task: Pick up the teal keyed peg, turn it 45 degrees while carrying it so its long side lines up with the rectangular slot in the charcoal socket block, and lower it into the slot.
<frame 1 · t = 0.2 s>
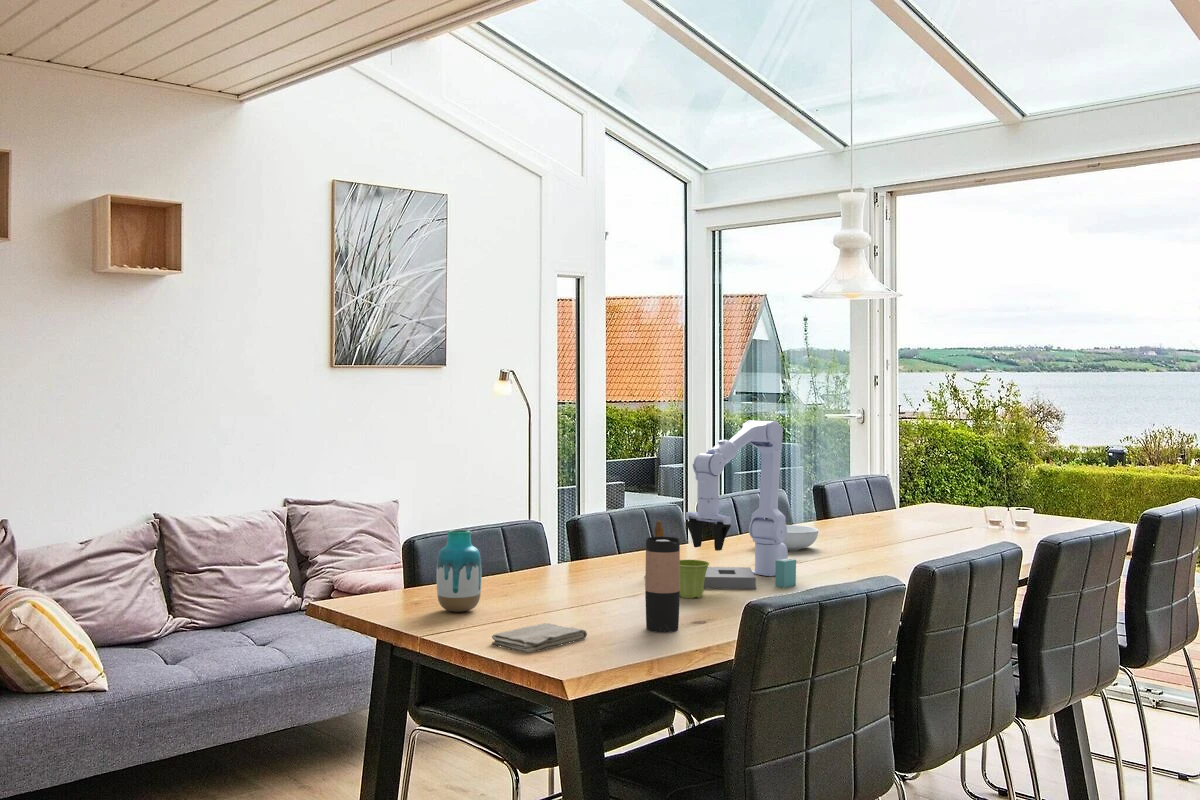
hand: (707, 548, 294), 10 cm above the table, tool pointing down, fingers open, 7 cm apart
washcloth: (538, 645, 230), on the table
travel mug: (662, 629, 242), on the table
vase: (458, 612, 260), on the table
serving bowl: (785, 549, 360), on the table
plant pot: (690, 597, 279), on the table
keyed socket: (726, 583, 298), on the table
keyed peg: (785, 585, 294), on the table
hand bell: (659, 578, 306), on the table
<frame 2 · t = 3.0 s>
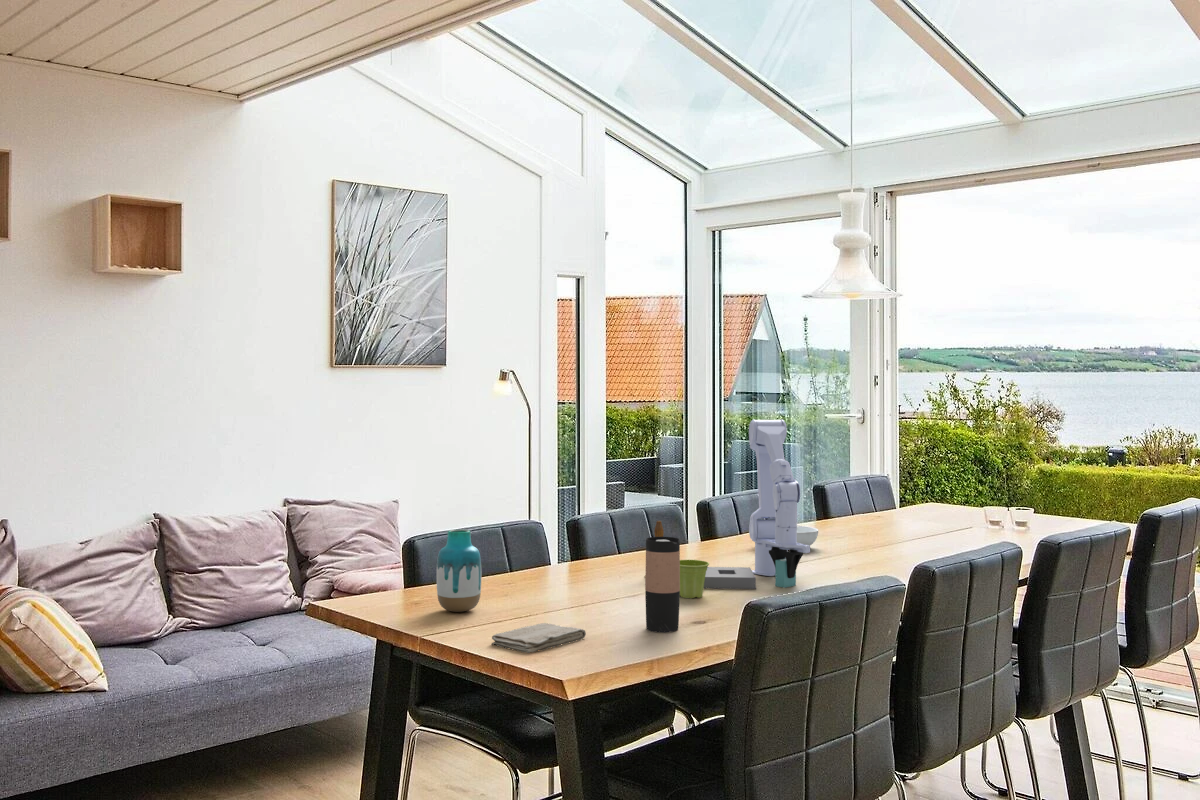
hand: (785, 576, 294), 2 cm above the table, tool pointing down, fingers closed on keyed peg, 3 cm apart
keyed peg: (785, 585, 294), on the table, touching gripper
everything else where it was.
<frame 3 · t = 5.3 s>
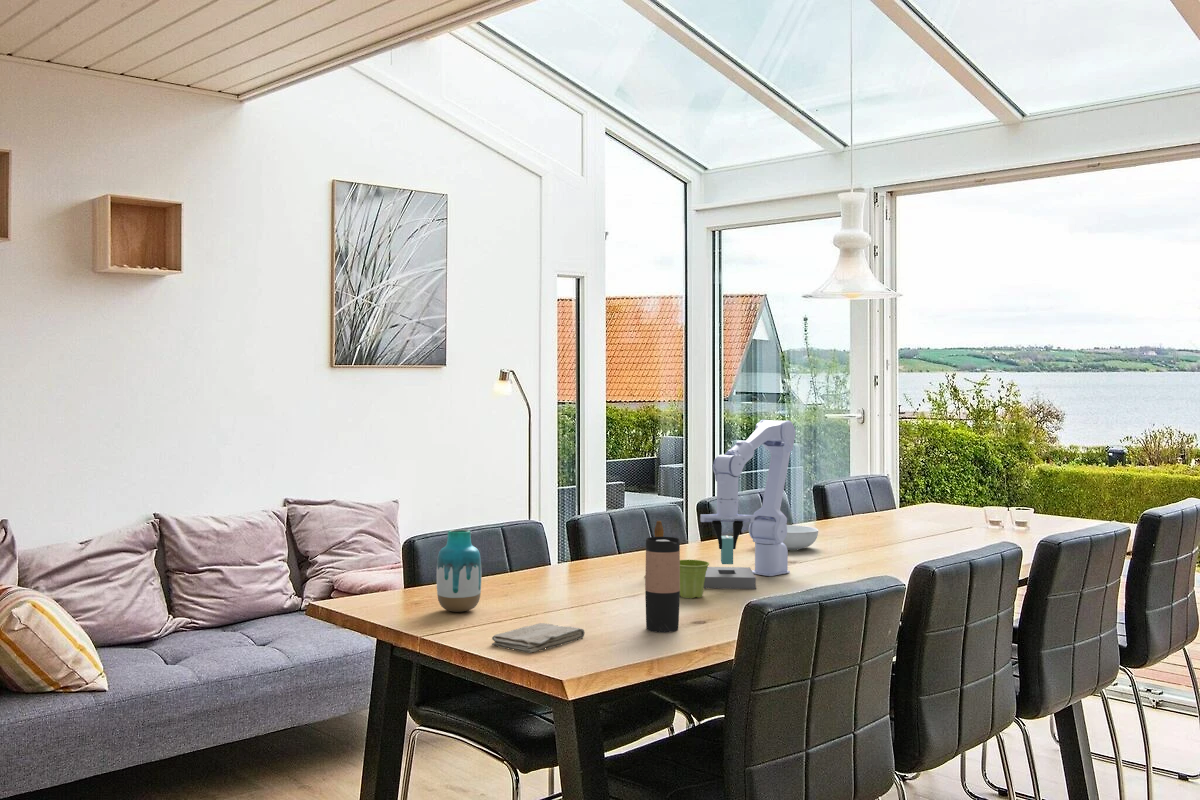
hand: (727, 548, 298), 9 cm above the table, tool pointing down, fingers closed on keyed peg, 3 cm apart
keyed peg: (726, 562, 298), point 5 cm above the table, touching gripper
everything else where it was.
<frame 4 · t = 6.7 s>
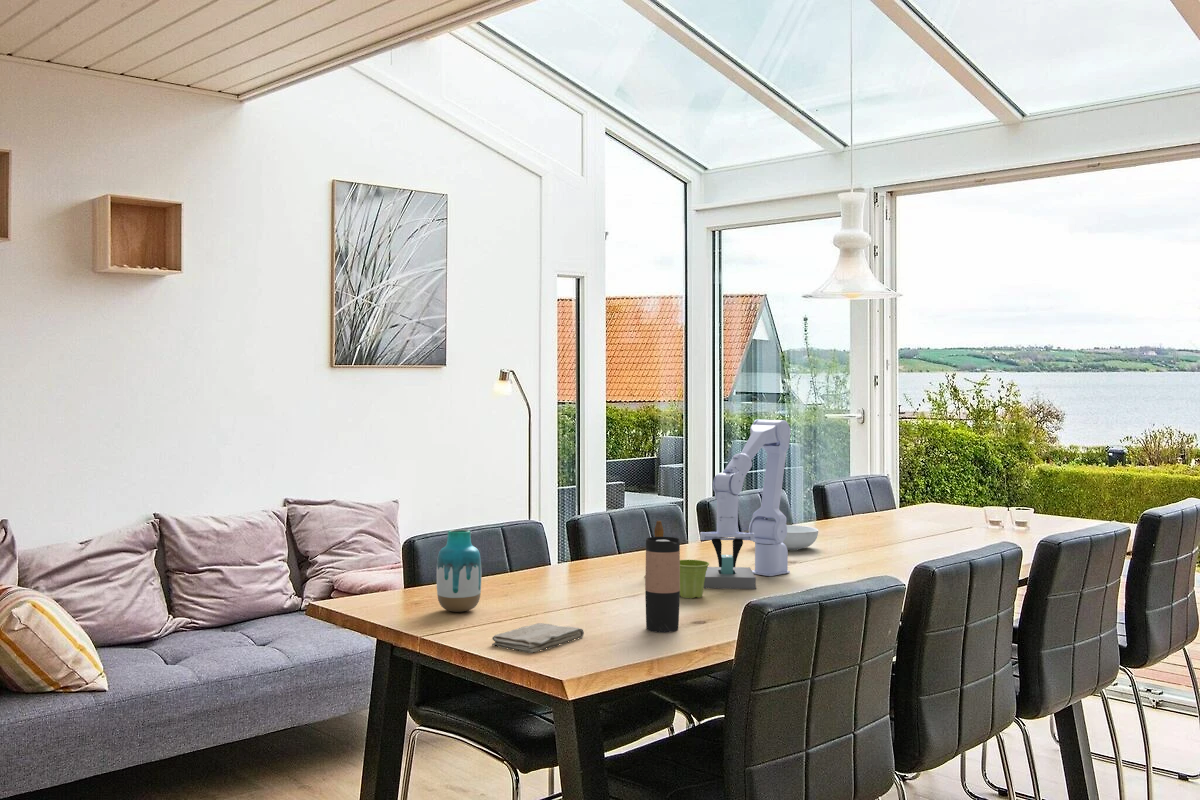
hand: (726, 566, 298), 4 cm above the table, tool pointing down, fingers closed on keyed peg, 3 cm apart
keyed peg: (726, 581, 298), resting in keyed socket, touching gripper
everything else where it was.
when the fingers open (4 cm above the table, at t = 7.6 s): keyed peg stays where it is, resting in keyed socket.
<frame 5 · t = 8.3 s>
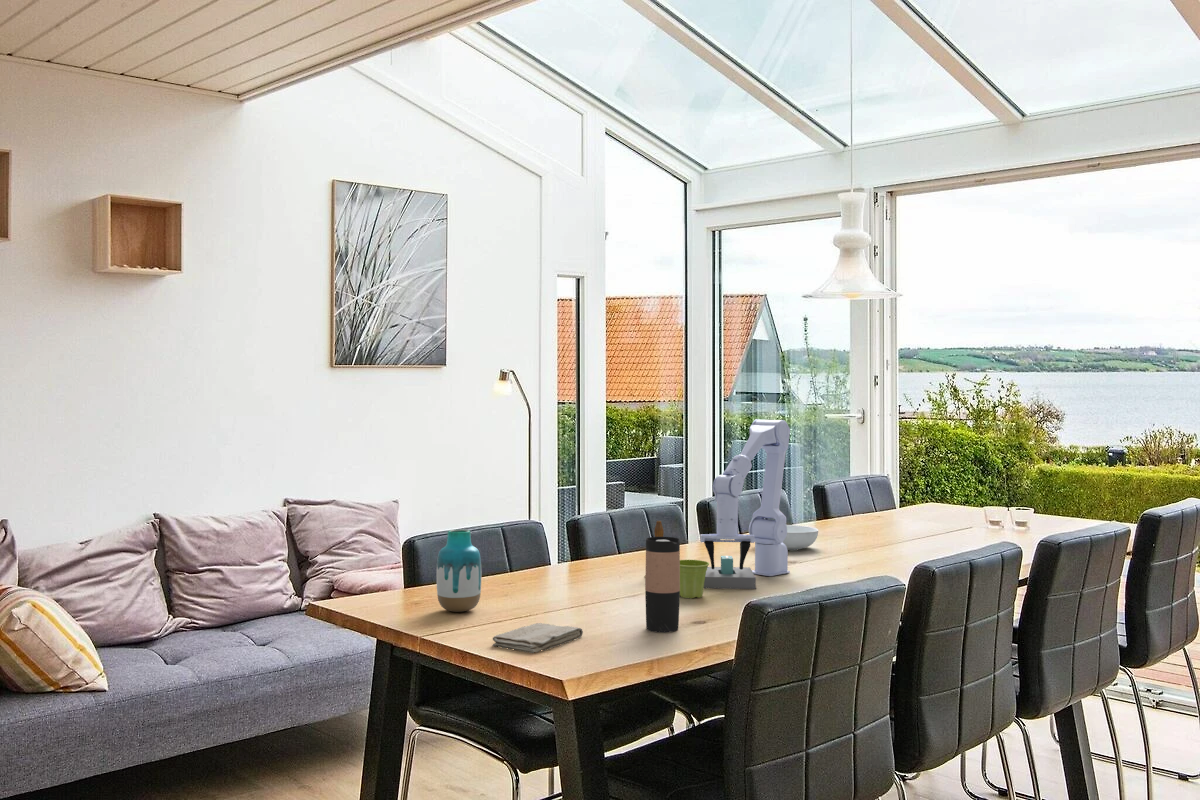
hand: (727, 568, 298), 4 cm above the table, tool pointing down, fingers open, 7 cm apart
keyed peg: (726, 582, 298), resting in keyed socket
everything else where it was.
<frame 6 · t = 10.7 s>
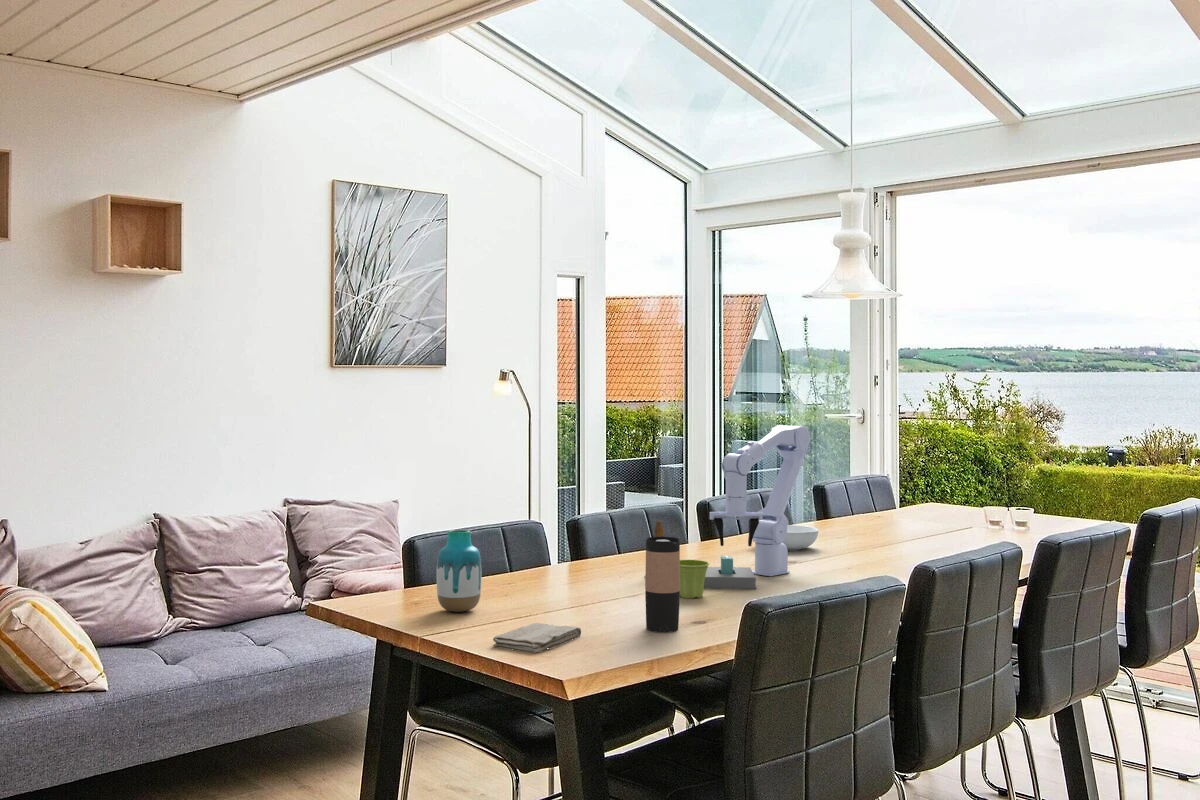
hand: (735, 545, 303), 9 cm above the table, tool pointing down, fingers open, 7 cm apart
nothing on the table moved.
at the end: keyed peg 0.4 cm off-centre on the keyed socket, point 0.0 cm above the keyed socket's base; keyed peg tilted 0°; the gripper is holding nothing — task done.
